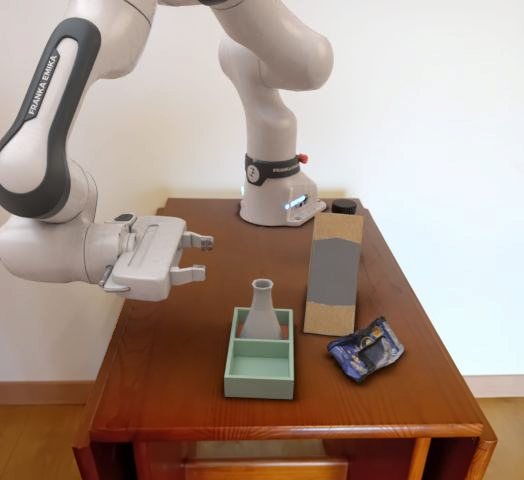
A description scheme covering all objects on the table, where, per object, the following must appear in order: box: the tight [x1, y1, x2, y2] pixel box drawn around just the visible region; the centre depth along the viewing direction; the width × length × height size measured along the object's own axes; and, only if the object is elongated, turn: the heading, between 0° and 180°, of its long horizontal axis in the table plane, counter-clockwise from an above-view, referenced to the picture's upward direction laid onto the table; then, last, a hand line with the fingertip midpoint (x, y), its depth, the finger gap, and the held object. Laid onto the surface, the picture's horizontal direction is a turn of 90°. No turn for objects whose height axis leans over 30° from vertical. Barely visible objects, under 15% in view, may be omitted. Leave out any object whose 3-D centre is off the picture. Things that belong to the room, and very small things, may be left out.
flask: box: [239, 278, 284, 340], centre depth 83 cm, size 7×7×10 cm
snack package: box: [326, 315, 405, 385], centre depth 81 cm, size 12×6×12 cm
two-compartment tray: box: [223, 306, 295, 400], centre depth 82 cm, size 18×10×4 cm, turn 178°
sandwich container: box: [303, 211, 365, 337], centre depth 90 cm, size 9×15×15 cm, turn 172°
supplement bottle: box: [330, 198, 358, 215], centre depth 108 cm, size 7×7×12 cm
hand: (209, 257), depth 78 cm, fingers open, 8 cm apart
